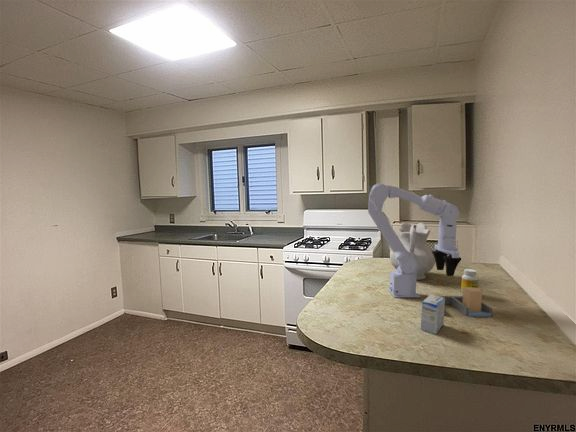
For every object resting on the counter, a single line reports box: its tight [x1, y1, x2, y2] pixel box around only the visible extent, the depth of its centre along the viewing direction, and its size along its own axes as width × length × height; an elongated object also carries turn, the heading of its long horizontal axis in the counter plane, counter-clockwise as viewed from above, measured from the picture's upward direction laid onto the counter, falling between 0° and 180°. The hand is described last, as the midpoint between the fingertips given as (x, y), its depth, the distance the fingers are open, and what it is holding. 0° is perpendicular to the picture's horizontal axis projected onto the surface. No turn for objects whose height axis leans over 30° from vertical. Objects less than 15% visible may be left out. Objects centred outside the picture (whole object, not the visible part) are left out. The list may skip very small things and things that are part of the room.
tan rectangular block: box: [462, 287, 483, 312], centre depth 107 cm, size 4×4×7 cm
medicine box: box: [420, 294, 446, 335], centre depth 94 cm, size 8×4×9 cm, turn 141°
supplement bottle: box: [460, 268, 479, 296], centre depth 122 cm, size 5×5×10 cm
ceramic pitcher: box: [389, 221, 436, 281], centre depth 144 cm, size 22×20×25 cm
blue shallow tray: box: [439, 295, 493, 318], centre depth 108 cm, size 16×12×2 cm
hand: (444, 272), depth 119 cm, fingers open, 7 cm apart
